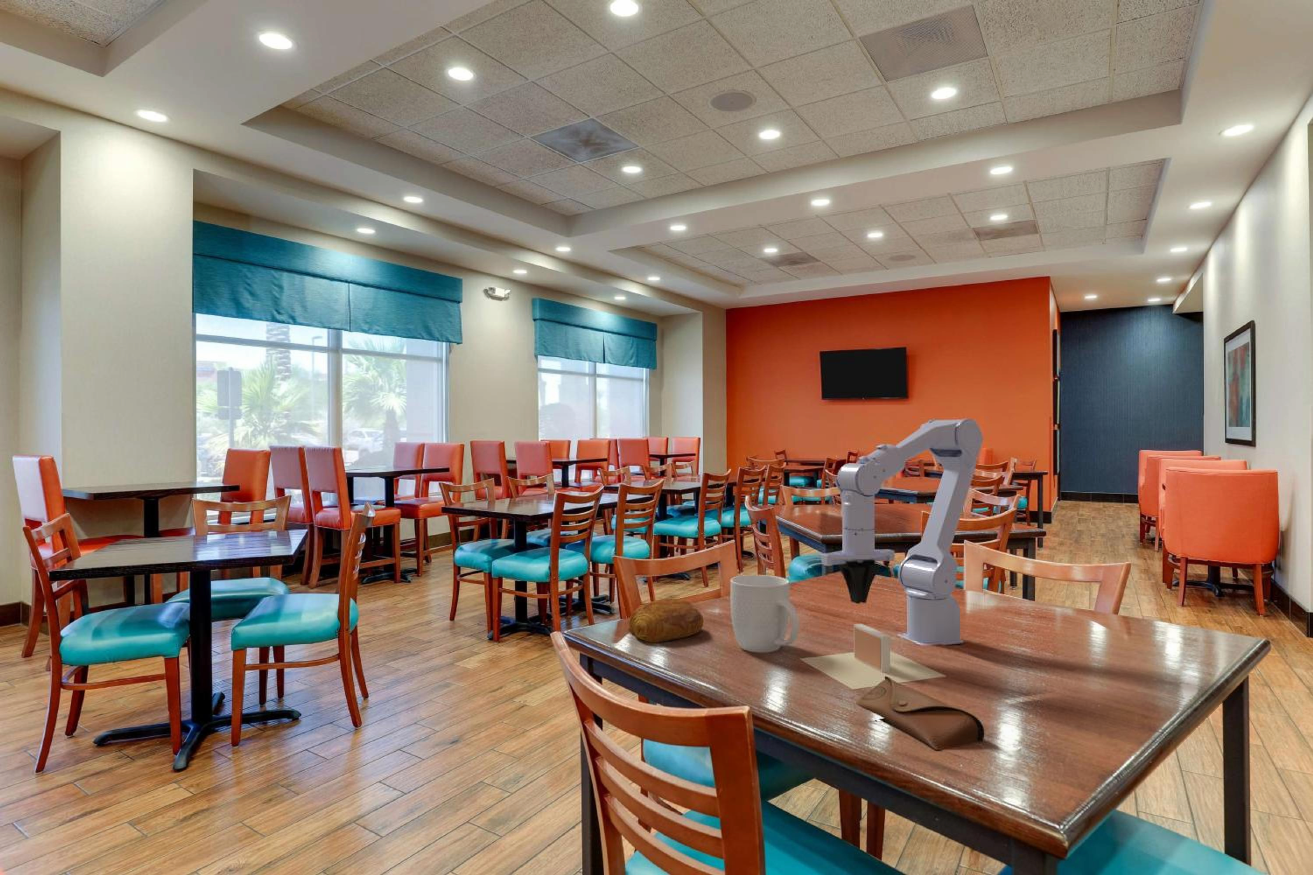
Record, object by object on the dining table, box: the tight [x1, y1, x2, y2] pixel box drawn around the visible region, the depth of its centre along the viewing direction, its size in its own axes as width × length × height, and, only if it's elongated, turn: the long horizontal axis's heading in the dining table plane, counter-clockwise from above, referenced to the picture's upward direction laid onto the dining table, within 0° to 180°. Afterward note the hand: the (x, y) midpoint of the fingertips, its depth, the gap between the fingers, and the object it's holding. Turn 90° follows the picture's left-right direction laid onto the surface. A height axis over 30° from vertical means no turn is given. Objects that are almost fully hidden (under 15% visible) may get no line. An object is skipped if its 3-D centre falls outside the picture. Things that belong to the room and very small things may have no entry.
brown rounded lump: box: [628, 597, 704, 644], centre depth 145 cm, size 14×16×8 cm
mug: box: [729, 574, 800, 654], centre depth 132 cm, size 15×11×13 cm
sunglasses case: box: [855, 676, 985, 752], centre depth 100 cm, size 18×7×7 cm
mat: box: [799, 650, 947, 690], centre depth 121 cm, size 18×16×1 cm
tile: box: [853, 623, 891, 672], centre depth 122 cm, size 2×8×6 cm, turn 19°
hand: (858, 601), depth 131 cm, fingers closed
